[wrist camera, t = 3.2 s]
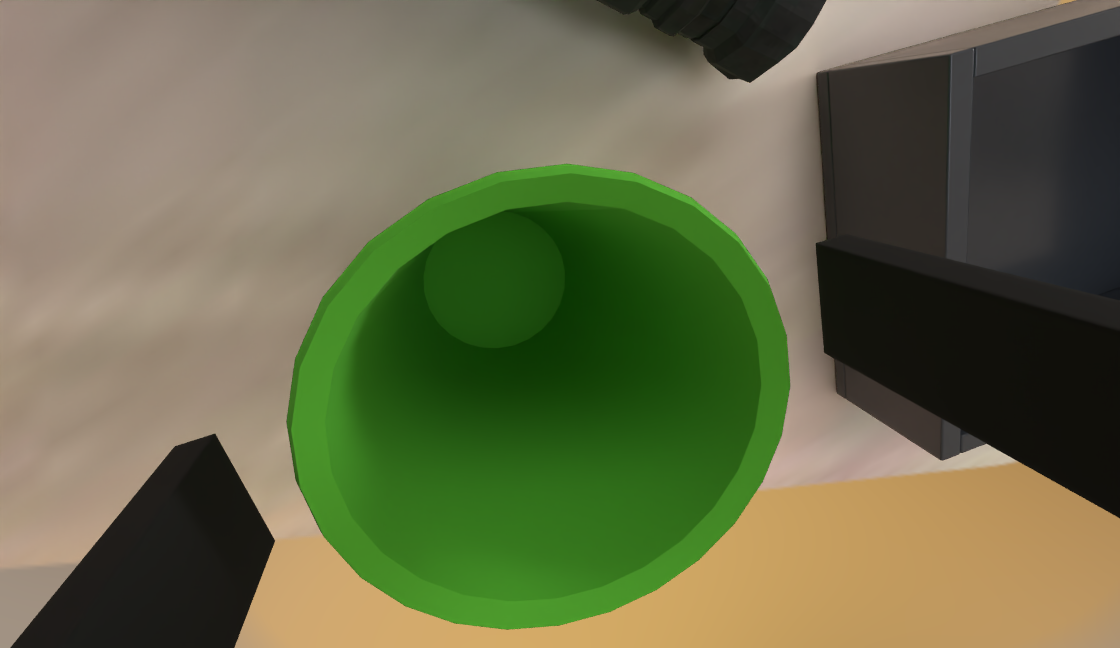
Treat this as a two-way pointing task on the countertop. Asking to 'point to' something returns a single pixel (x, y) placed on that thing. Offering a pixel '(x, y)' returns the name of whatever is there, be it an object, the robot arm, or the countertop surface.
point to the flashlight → (732, 28)
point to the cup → (538, 396)
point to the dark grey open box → (981, 164)
